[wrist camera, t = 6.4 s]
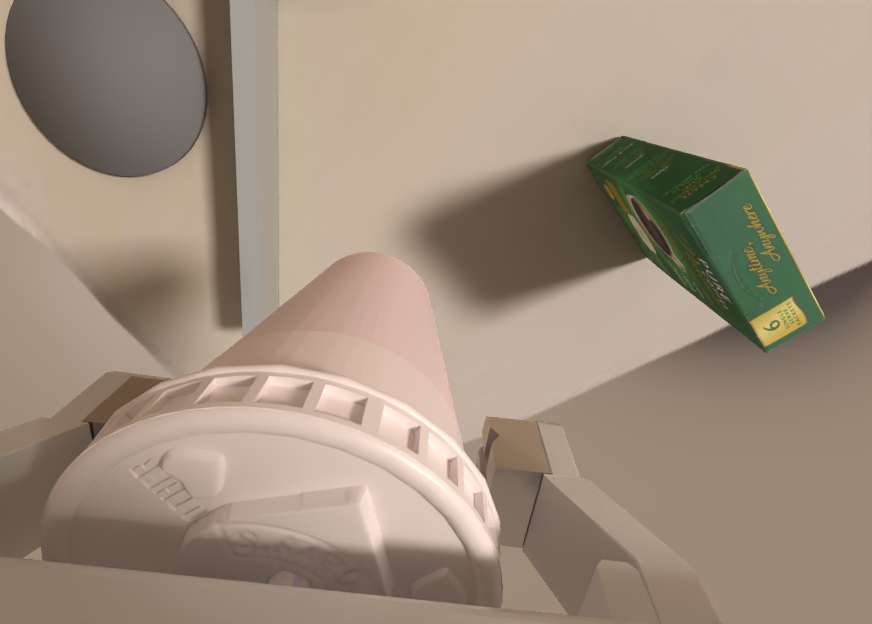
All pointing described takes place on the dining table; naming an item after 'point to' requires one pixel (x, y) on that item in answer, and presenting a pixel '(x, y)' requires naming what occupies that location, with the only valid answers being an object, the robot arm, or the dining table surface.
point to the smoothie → (296, 458)
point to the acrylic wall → (256, 154)
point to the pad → (109, 80)
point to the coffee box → (710, 236)
